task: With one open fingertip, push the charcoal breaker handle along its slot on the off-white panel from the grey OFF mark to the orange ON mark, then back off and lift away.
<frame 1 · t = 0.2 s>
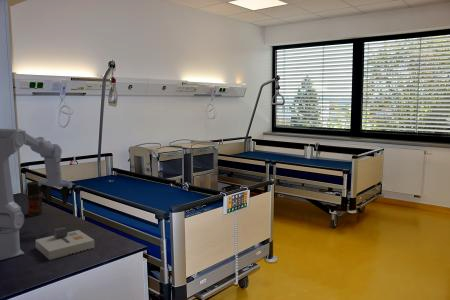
hand: (57, 202, 159), 11 cm above the counter, tool pointing down, fingers open, 7 cm apart
breaker handle: (60, 232, 141), point 5 cm above the counter, slide at 0.0 cm
deodorant: (35, 214, 177), on the counter
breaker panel: (65, 247, 138), on the counter
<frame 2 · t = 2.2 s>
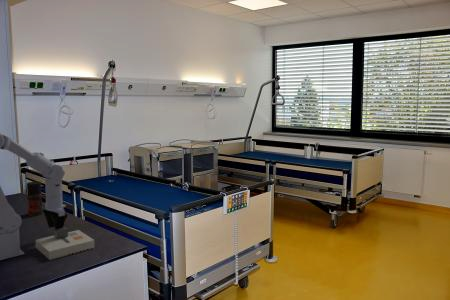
hand: (55, 229, 144), 4 cm above the counter, tool pointing down, fingers open, 7 cm apart
breaker handle: (61, 232, 140), point 5 cm above the counter, slide at 0.5 cm, touching gripper
everything else where it was.
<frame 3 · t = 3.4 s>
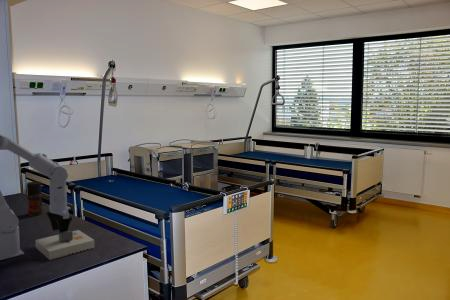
hand: (59, 232, 141), 4 cm above the counter, tool pointing down, fingers open, 7 cm apart
breaker handle: (65, 236, 137), point 5 cm above the counter, slide at 4.8 cm, touching gripper
everything else where it was.
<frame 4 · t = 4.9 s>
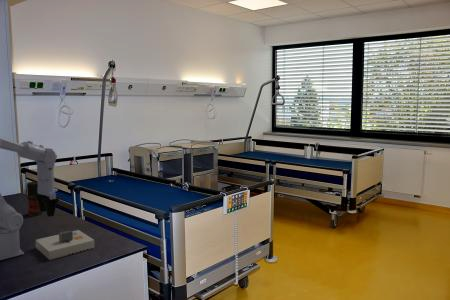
hand: (47, 213, 145), 10 cm above the counter, tool pointing down, fingers open, 7 cm apart
breaker handle: (65, 236, 137), point 5 cm above the counter, slide at 4.8 cm
everything else where it was.
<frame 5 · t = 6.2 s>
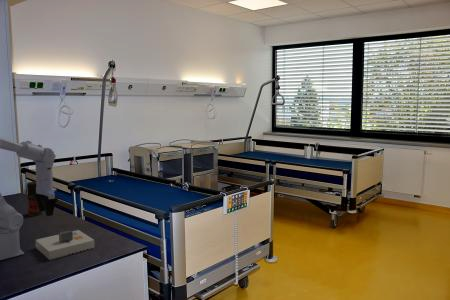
hand: (46, 213, 145), 10 cm above the counter, tool pointing down, fingers open, 7 cm apart
nothing on the counter moved.
at the end: breaker handle slide at 4.8 cm; deodorant moved 0.2 cm from its start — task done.
